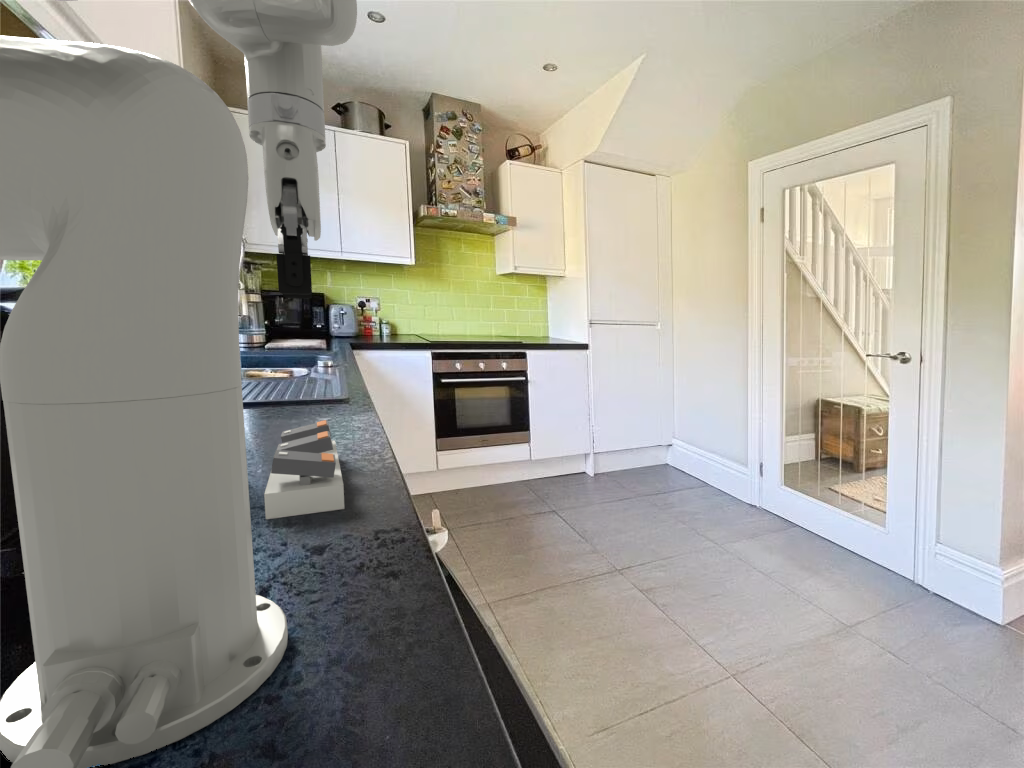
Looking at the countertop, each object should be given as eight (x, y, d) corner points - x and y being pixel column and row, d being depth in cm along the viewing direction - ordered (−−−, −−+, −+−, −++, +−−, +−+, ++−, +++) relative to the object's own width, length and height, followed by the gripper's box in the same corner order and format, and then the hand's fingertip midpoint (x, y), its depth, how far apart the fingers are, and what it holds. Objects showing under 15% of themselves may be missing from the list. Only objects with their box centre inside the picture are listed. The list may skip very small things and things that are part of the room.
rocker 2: (333, 449, 59) (329, 435, 58) (279, 463, 57) (276, 449, 56) (332, 442, 62) (328, 429, 62) (281, 456, 60) (278, 443, 60)
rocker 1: (331, 436, 66) (327, 423, 66) (283, 448, 64) (280, 435, 64) (330, 430, 69) (327, 419, 69) (285, 442, 67) (282, 430, 67)
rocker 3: (333, 477, 51) (336, 461, 51) (270, 473, 49) (273, 456, 49) (332, 468, 55) (334, 453, 55) (273, 464, 52) (276, 448, 52)
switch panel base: (344, 508, 51) (343, 476, 51) (265, 519, 48) (263, 485, 48) (335, 457, 71) (334, 434, 71) (280, 463, 68) (278, 438, 68)
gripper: (327, 98, 46) (335, 291, 48) (323, 158, 62) (330, 300, 64) (236, 83, 43) (249, 289, 45) (257, 150, 59) (266, 299, 61)
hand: (296, 294), depth 54 cm, fingers open, 6 cm apart
